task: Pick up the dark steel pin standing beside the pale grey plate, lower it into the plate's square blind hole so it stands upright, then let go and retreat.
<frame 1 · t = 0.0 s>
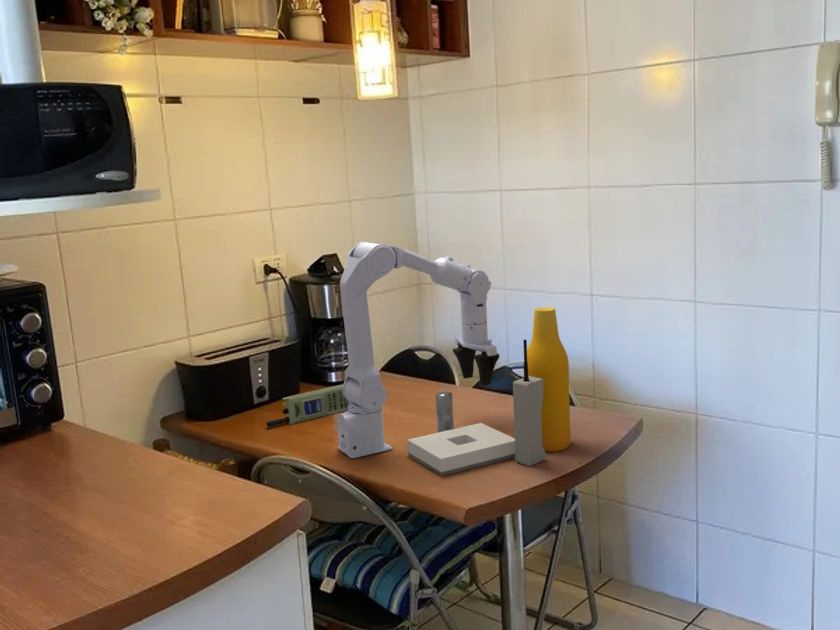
hand: (476, 381, 191), 10 cm above the table, tool pointing down, fingers open, 7 cm apart
grey hole plate: (462, 456, 172), on the table
steel pin: (446, 437, 184), on the table
handheld radio: (314, 418, 205), on the table
vintage mobile phone: (530, 462, 167), on the table
beer bottle: (548, 445, 176), on the table
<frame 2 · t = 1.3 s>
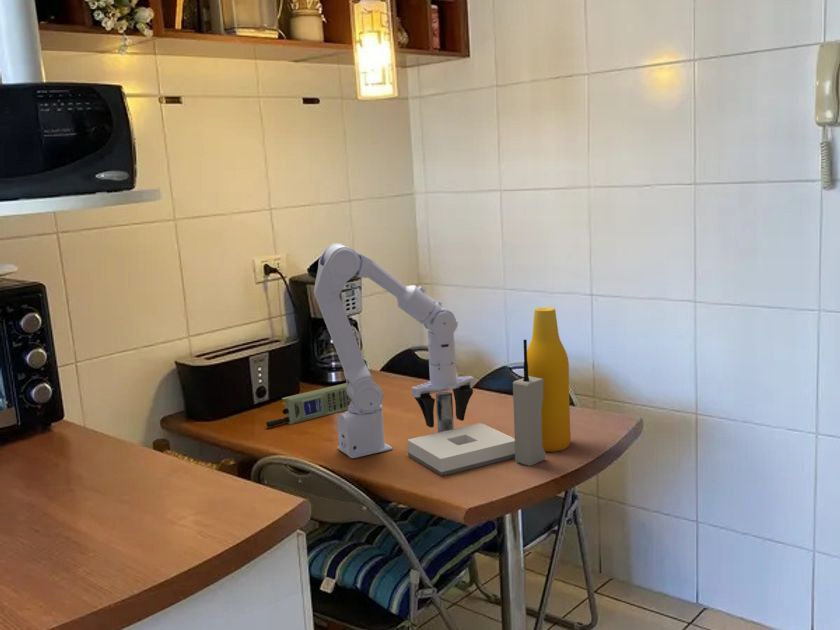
hand: (445, 422, 183), 3 cm above the table, tool pointing down, fingers open, 7 cm apart
nothing on the table moved.
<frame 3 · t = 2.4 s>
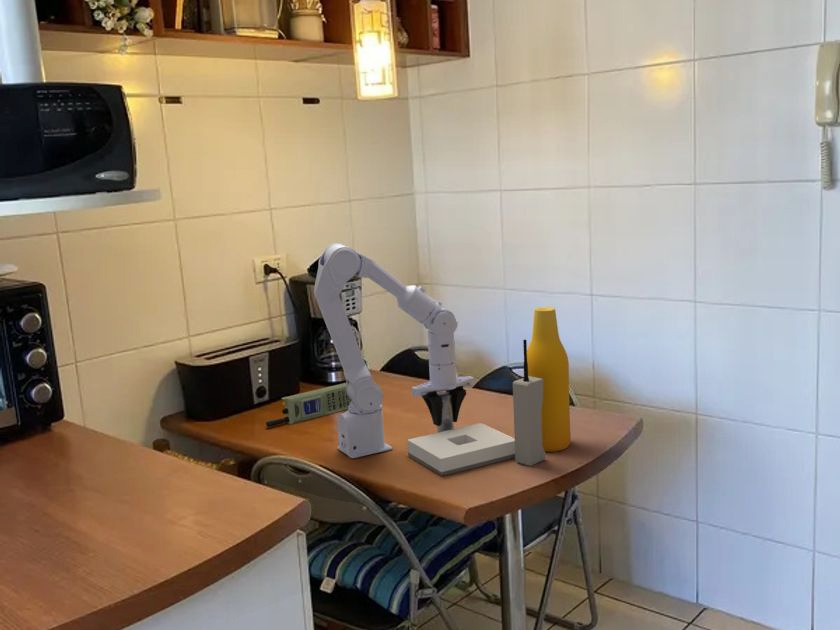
hand: (445, 422, 183), 3 cm above the table, tool pointing down, fingers closed on steel pin, 4 cm apart
steel pin: (446, 437, 184), on the table, touching gripper
everything else where it was.
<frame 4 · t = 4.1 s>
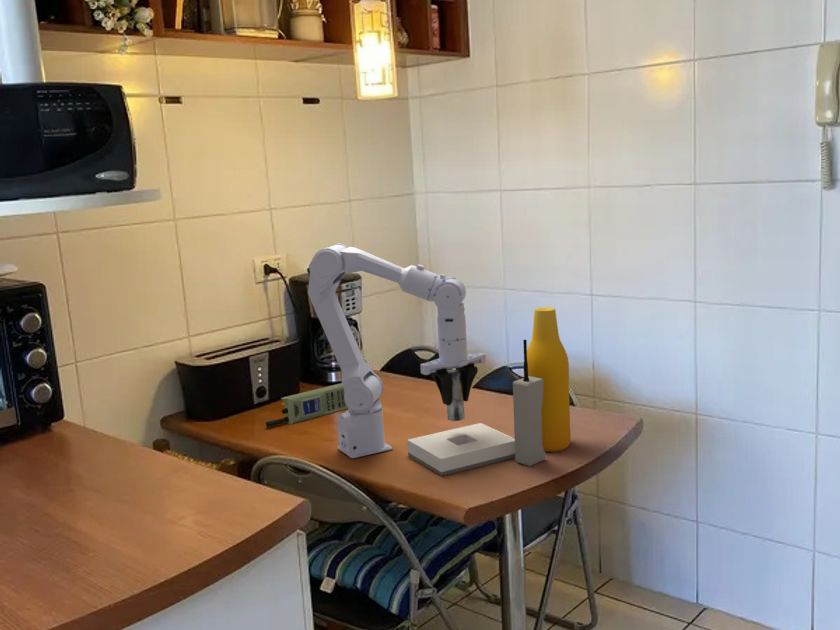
hand: (455, 402, 174), 10 cm above the table, tool pointing down, fingers closed on steel pin, 4 cm apart
steel pin: (456, 418, 175), point 7 cm above the table, touching gripper
everything else where it was.
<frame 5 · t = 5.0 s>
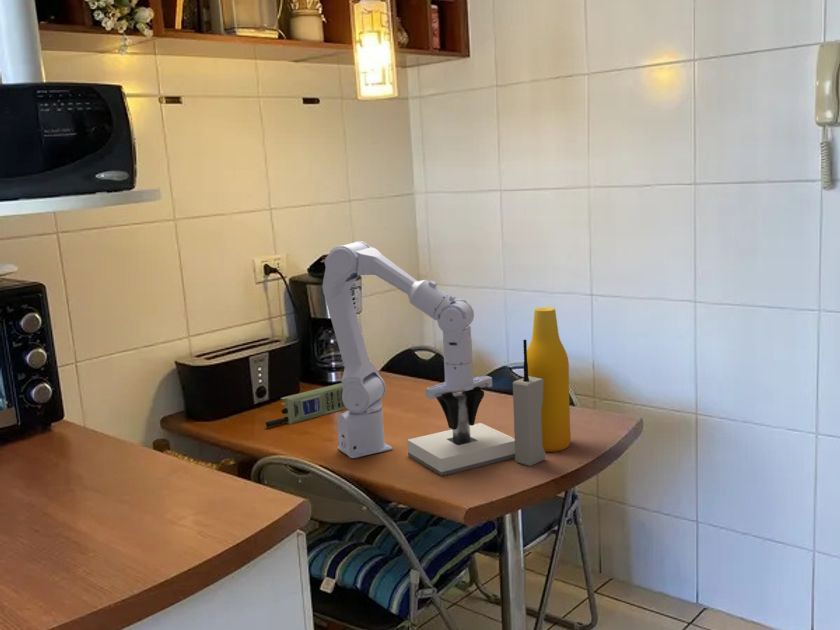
hand: (461, 426, 171), 6 cm above the table, tool pointing down, fingers closed on steel pin, 4 cm apart
steel pin: (462, 442, 172), point 3 cm above the table, touching gripper
everything else where it was.
when the fingers open (5 cm above the table, at t = 5.8 s): steel pin stays where it is, resting on grey hole plate.
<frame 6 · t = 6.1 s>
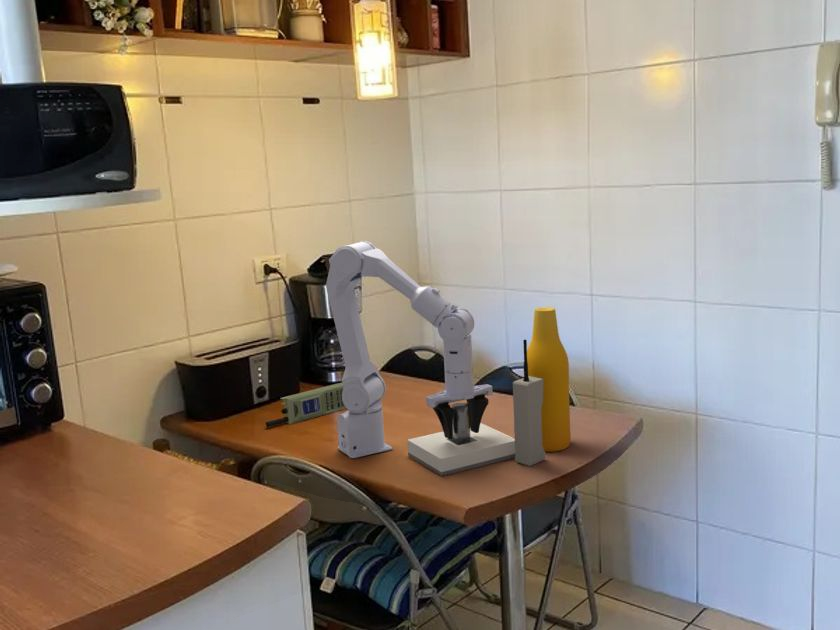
hand: (461, 434, 171), 5 cm above the table, tool pointing down, fingers open, 6 cm apart
steel pin: (462, 452, 172), point 1 cm above the table, touching grey hole plate
everything else where it was.
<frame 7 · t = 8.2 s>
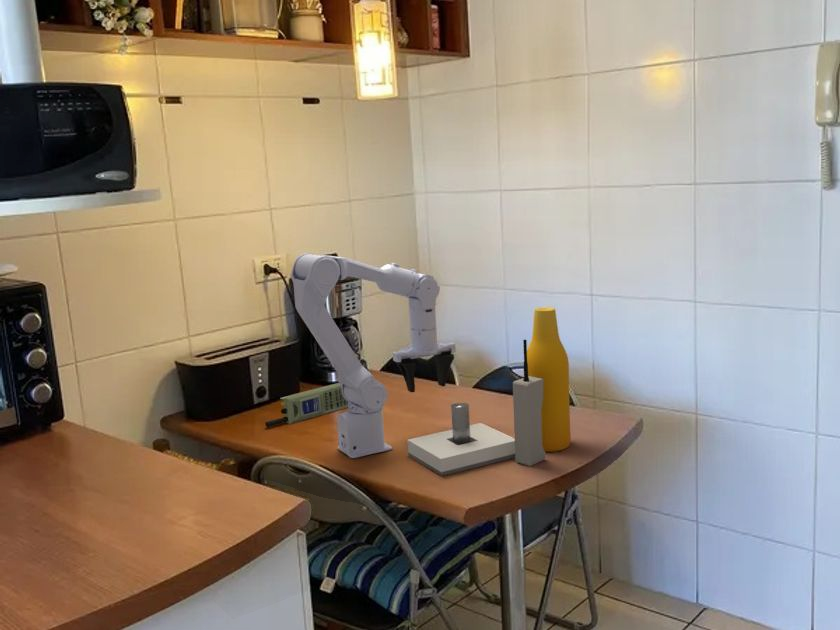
hand: (426, 388, 186), 10 cm above the table, tool pointing down, fingers open, 7 cm apart
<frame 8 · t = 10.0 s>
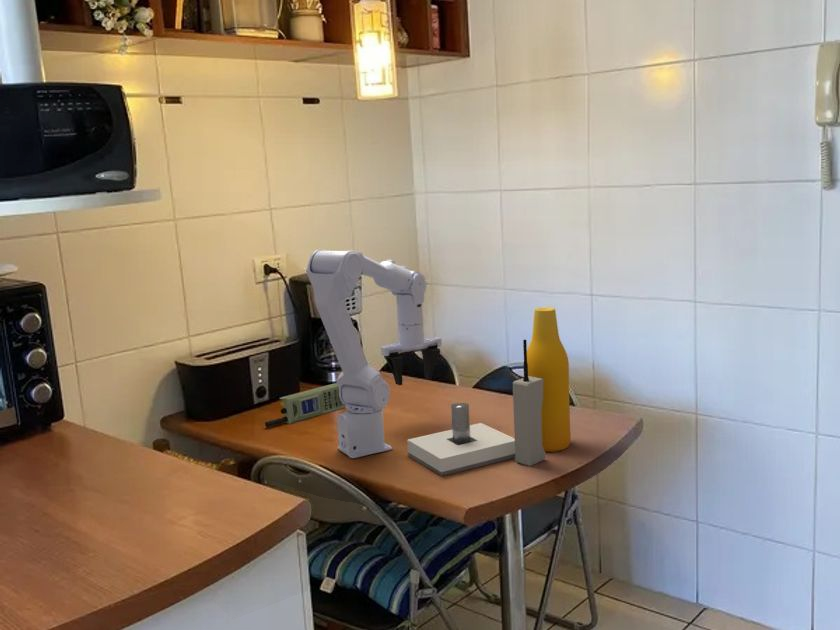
hand: (413, 381, 192), 10 cm above the table, tool pointing down, fingers open, 7 cm apart
at the end: steel pin 0.1 cm off-centre on the grey hole plate, point 0.8 cm above the grey hole plate's base; steel pin tilted 0°; the gripper is holding nothing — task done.
